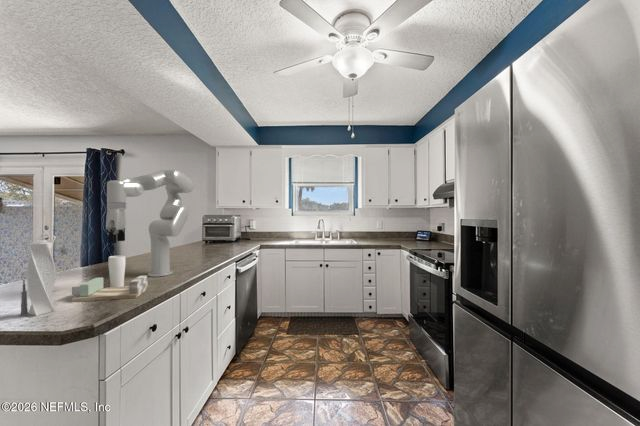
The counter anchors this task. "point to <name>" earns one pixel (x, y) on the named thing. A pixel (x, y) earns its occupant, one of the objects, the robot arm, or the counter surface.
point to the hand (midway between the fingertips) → (116, 241)
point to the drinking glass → (117, 270)
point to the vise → (117, 291)
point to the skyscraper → (39, 279)
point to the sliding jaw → (88, 287)
